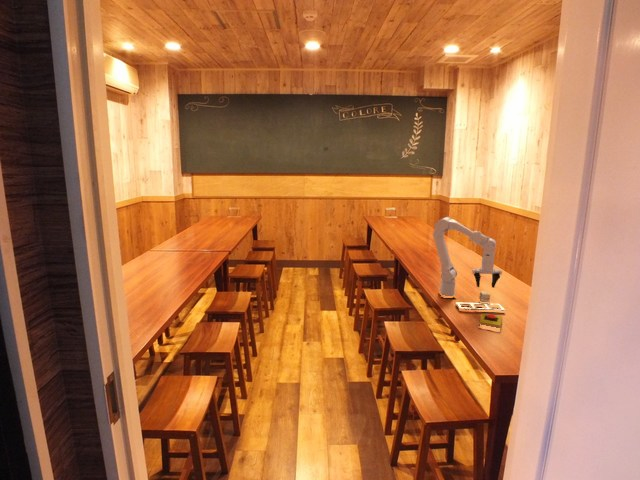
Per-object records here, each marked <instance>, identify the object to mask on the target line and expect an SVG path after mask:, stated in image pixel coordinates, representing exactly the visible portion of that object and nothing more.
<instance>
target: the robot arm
mask: <svg viewBox="0 0 640 480" xmlns="http://www.w3.org/2000/svg"><path fill="white" fill-rule="evenodd" d="M448 230H449V231H454V230H455V231H458V232H459V233H461V234H463V235H465V236H467V237H469V238H468V239H469V240H470V241H471V242H473V243H474V244H476V245H478V246H480V247H481V248H482V249H483V252H482V259H481V260H482V261H481V268H473V269H471V273H472V274H473V276H474V278H475V282H476V283H475V284H476V287H477V288H480V284H481V283H480V282H481V277H482V276H481V275H482V274H486V275H487V274H488V275H492V277H491V288H495V286H496V284H497V283H498V280H499V279H500V278H501V276H502V274H503V270H501V269H495V268H494V265H495V256H496V247H497V245H498V242H497V240H496V239H494V238H491V237H490V236H486V235H484V234H483V233H482V231H480V230H478V231H477V230H474V231H472V229H469V228H468V227H466V226H465V225H463V224H462V223H460V222H458V221H457V220H455V219H454V218H453V219H452V218H451V217H449V216H446V217H443V218H440V219H438V221H436V223H435V224H434V230H433V233H432V234H433V235H432V236H433V240H434V244H435V247H436V250H437V251H436V252H437V254H438V258H439V262H440V264H441V268H440V271H441V275H440V278H441V281H440V285H439V292H440V291H441V294H442V295H445V296H453V295H455V292H456V279H455V278H456V277H457V276H458V271H457V270H456V269H455V267H454V264H453V263H452V261H451V258H450V255H449V251H448V248H447V247H448V246H447V245H446V240H445V237H444V235H445V234H446V233H447V231H448Z"/></svg>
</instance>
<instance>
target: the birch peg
mask: <svg viewBox="0 0 640 480" xmlns="http://www.w3.org/2000/svg"><path fill="white" fill-rule="evenodd" d="M479 299H480V301H481V302H489V303H490V299H491V294H490V293H489V291H479V296H478V300H479Z"/></svg>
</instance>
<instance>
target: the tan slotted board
mask: <svg viewBox="0 0 640 480" xmlns="http://www.w3.org/2000/svg"><path fill="white" fill-rule="evenodd" d="M456 304H457V306H458V307H459V308H460V309H465V310H467V309H468V310H469V309H471V310H501V311H505V312H506V309H505V308H504V307H503V306H502V305H501V304H500V303H489V304H488V303H479V302H458V301H457V302H455V305H456ZM460 304H462V305H471V307H472V308H470V307H461V305H460ZM474 305H484V306H485V307H486V308H476V307H475V306H474ZM488 305H498V306H499V307H500V309H497V308H490V307H489V306H488Z"/></svg>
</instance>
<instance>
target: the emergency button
mask: <svg viewBox="0 0 640 480" xmlns="http://www.w3.org/2000/svg"><path fill="white" fill-rule="evenodd" d="M501 323H502V324H503V316H500V315H496V314H495V315H494V314H491V313H481V316H480V319H479V323H478V324H481V325H486V326H491V327H496V328H501V329H502V326H501Z"/></svg>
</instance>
